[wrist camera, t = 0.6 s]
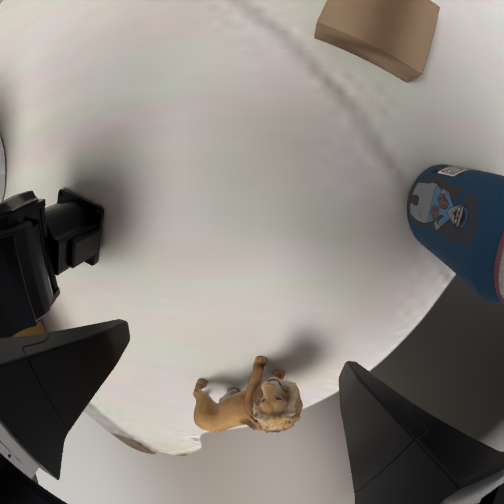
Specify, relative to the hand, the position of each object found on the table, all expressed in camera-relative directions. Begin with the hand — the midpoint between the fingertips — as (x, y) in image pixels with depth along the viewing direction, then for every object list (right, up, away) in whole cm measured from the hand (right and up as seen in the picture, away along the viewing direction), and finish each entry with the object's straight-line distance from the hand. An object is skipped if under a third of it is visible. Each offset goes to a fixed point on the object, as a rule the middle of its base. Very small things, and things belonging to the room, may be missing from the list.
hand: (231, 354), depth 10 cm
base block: (+11, +22, +4) cm, 25 cm away
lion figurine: (0, -9, +17) cm, 20 cm away
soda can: (+16, +8, +9) cm, 20 cm away
